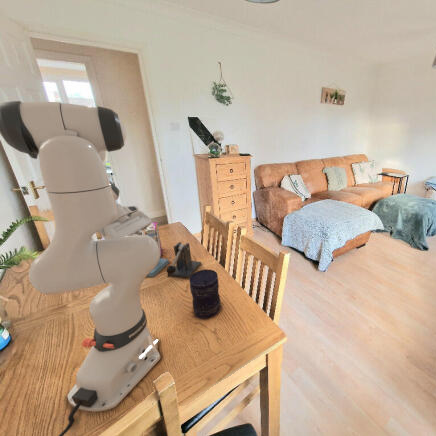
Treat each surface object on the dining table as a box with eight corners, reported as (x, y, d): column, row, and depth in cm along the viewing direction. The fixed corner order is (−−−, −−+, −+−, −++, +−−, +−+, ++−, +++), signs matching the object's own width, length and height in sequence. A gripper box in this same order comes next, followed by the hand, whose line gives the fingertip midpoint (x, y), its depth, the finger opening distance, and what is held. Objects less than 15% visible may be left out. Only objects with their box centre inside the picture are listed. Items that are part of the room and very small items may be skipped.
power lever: (174, 275, 103) (171, 272, 100) (167, 274, 103) (163, 271, 101) (188, 248, 112) (185, 243, 109) (181, 247, 112) (178, 243, 109)
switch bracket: (188, 278, 108) (184, 252, 103) (168, 276, 109) (163, 250, 104) (201, 264, 119) (198, 239, 114) (182, 262, 120) (178, 237, 115)
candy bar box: (161, 258, 122) (156, 230, 116) (150, 260, 120) (144, 231, 114) (162, 248, 132) (157, 221, 125) (152, 250, 130) (146, 222, 123)
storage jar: (192, 304, 94) (187, 273, 88) (217, 297, 98) (214, 266, 92) (195, 322, 85) (190, 289, 80) (223, 314, 90) (220, 281, 84)
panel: (153, 277, 108) (151, 269, 107) (133, 274, 109) (131, 267, 108) (169, 262, 119) (167, 256, 118) (150, 260, 120) (149, 253, 119)
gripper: (97, 223, 85) (128, 249, 88) (139, 204, 104) (163, 227, 107) (90, 232, 88) (120, 258, 90) (132, 213, 106) (156, 235, 109)
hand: (143, 241), depth 99 cm, fingers closed
